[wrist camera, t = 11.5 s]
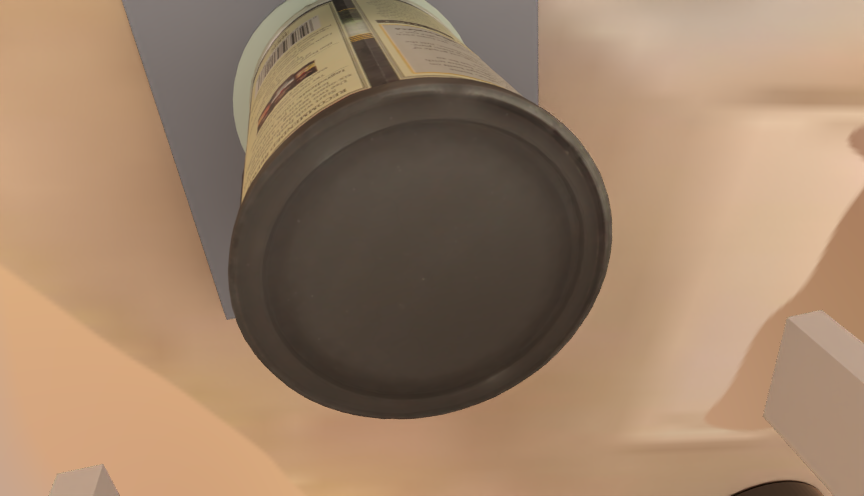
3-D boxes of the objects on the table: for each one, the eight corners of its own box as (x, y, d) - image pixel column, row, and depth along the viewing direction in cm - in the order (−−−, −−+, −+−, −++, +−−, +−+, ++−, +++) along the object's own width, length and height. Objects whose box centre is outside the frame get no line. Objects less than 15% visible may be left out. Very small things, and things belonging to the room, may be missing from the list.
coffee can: (432, 232, 33) (520, 440, 21) (225, 182, 29) (188, 398, 17) (514, 36, 28) (684, 155, 16) (284, -52, 25) (289, 18, 13)
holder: (531, 248, 36) (582, 324, 30) (228, 306, 34) (217, 400, 28) (527, -170, 26) (603, -184, 20) (89, -125, 24) (22, -125, 17)
